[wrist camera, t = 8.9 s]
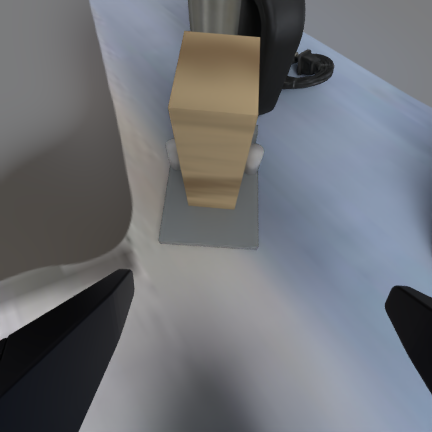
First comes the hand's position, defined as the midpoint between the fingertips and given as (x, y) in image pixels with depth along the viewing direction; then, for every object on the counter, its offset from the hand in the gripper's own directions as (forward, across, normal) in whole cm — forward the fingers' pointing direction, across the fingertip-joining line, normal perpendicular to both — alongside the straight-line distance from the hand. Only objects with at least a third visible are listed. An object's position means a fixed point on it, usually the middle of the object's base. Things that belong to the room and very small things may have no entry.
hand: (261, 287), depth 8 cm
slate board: (+17, +2, +2) cm, 17 cm away
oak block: (+17, +2, +1) cm, 17 cm away
